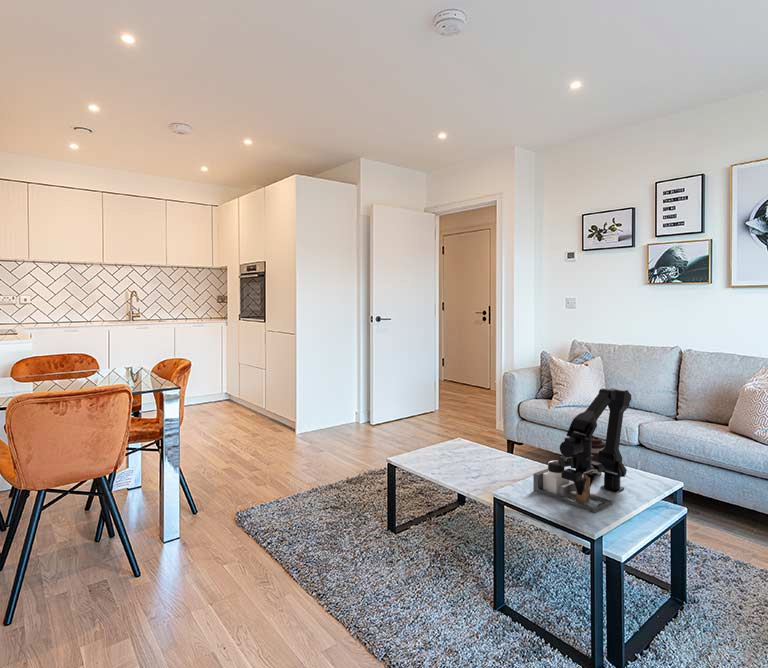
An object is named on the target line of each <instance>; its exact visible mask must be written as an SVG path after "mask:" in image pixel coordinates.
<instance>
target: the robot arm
mask: <svg viewBox="0 0 768 668" xmlns="http://www.w3.org/2000/svg"><path fill="white" fill-rule="evenodd" d="M631 401H632V394H631V393H630V391H629V390H627V389H622V388H615V387H611V388H600V389H599V391H598V394H597V395H596V397H594V399H593V401H592V402H591V403H590V405H588V407H587V408H586V409H585V411H583V412H580V413H579V414H577V415H576V416H575V417H574V418H573V419H572V421H571V422H570V425H569V427H568V430H567V433H566V437H564V441H562V442H561V443H560V444H559V445H560V446H559V452H560V454H561V456H559V457H558V461H559V462H558V463H559V465H560V466H562V468H564V470H563V471H562V472H561V477H562V478H564V479H567V480H570V482H572V481H573V482H574V484H575V486H576V489H577V492H578V495H582V492H583V489H584V486H585V483H586V480H587V479H585V478H584V474H586V475H588V477H590V488H591V487H592V485H593V482H594V481H595V480H596V479H597V477H598V476H599V475H598V474H596V473H594V469H597V470H598V472H600V473H601V472H602V473H603V475H604V477H603V485H601V486H600V489H602V490H606V491H609V492H612V493H618V492H621V491H623V490H625V487H624V486H621V478H625V477H626V475H627V471H628V469H627V468H626V466H625V465H624V464H623V455H622V454H621V452H620V442H621V434H622V427H623V419H624V413H625V412H626V410H627V409H629V407H630V403H631ZM607 407H608V409H609V416H608V420H607V421H608V422H607V429H606V437H605V447H604V449H603V450H602V451H599V453H598V459H597V462H595V461H591V459H592V458H594V455H591V451H592V439H594V438H595V437H596V436H594V435H593V434H594V433H595V432H596V429H597V427H598V423H597V421H598V419H599V418H600V417H601V415H602V414H603V412H605V410H606V408H607ZM565 467H570V468H566V469H565ZM602 473H601V474H602Z"/></svg>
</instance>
